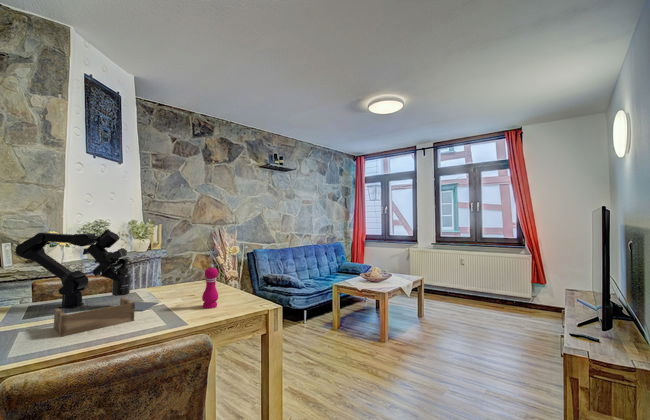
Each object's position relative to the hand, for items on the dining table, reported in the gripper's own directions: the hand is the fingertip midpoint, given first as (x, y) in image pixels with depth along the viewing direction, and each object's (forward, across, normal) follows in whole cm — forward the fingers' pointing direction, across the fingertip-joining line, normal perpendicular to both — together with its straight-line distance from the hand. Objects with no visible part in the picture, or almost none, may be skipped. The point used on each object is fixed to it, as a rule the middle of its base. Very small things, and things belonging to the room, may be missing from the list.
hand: (124, 279), depth 140 cm
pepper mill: (+36, +1, -19) cm, 41 cm away
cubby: (+10, -23, +7) cm, 26 cm away
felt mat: (+13, 0, +4) cm, 14 cm away
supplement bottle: (+4, 0, +6) cm, 7 cm away
